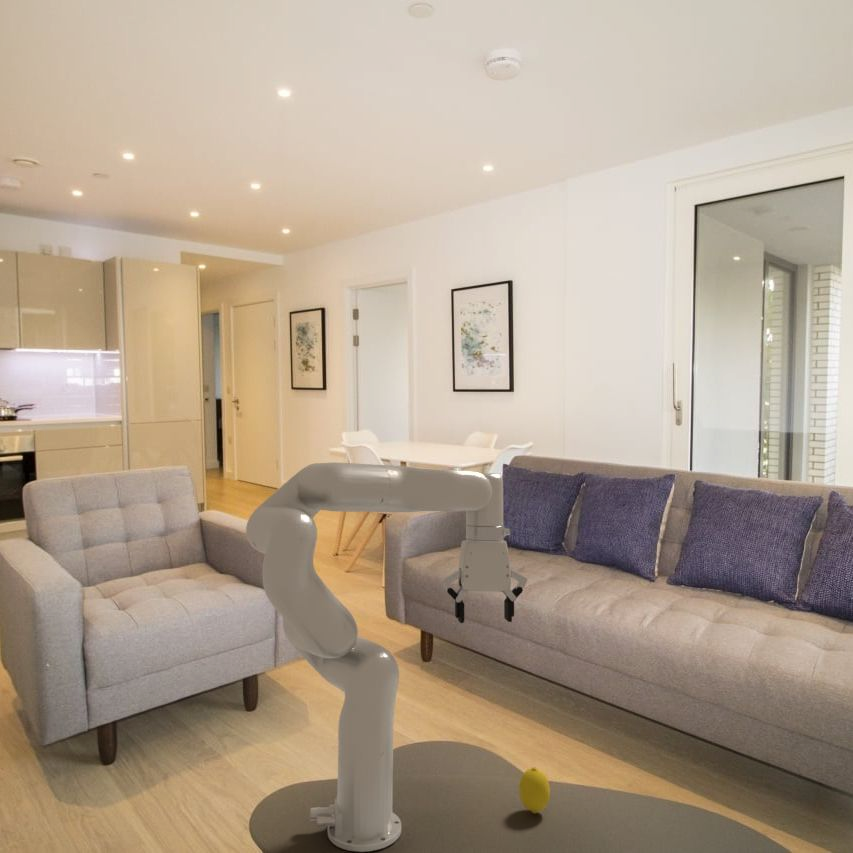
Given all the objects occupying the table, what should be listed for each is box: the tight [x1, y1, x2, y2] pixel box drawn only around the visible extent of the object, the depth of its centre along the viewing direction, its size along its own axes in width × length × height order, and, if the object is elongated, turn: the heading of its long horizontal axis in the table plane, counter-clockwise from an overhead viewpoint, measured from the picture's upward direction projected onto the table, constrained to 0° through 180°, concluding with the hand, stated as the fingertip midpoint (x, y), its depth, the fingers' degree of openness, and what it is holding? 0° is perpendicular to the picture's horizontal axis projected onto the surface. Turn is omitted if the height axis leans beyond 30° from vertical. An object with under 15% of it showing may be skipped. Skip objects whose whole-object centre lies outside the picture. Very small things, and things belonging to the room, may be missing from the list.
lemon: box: [518, 766, 551, 815], centre depth 116 cm, size 6×6×8 cm
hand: (484, 621), depth 127 cm, fingers open, 9 cm apart
